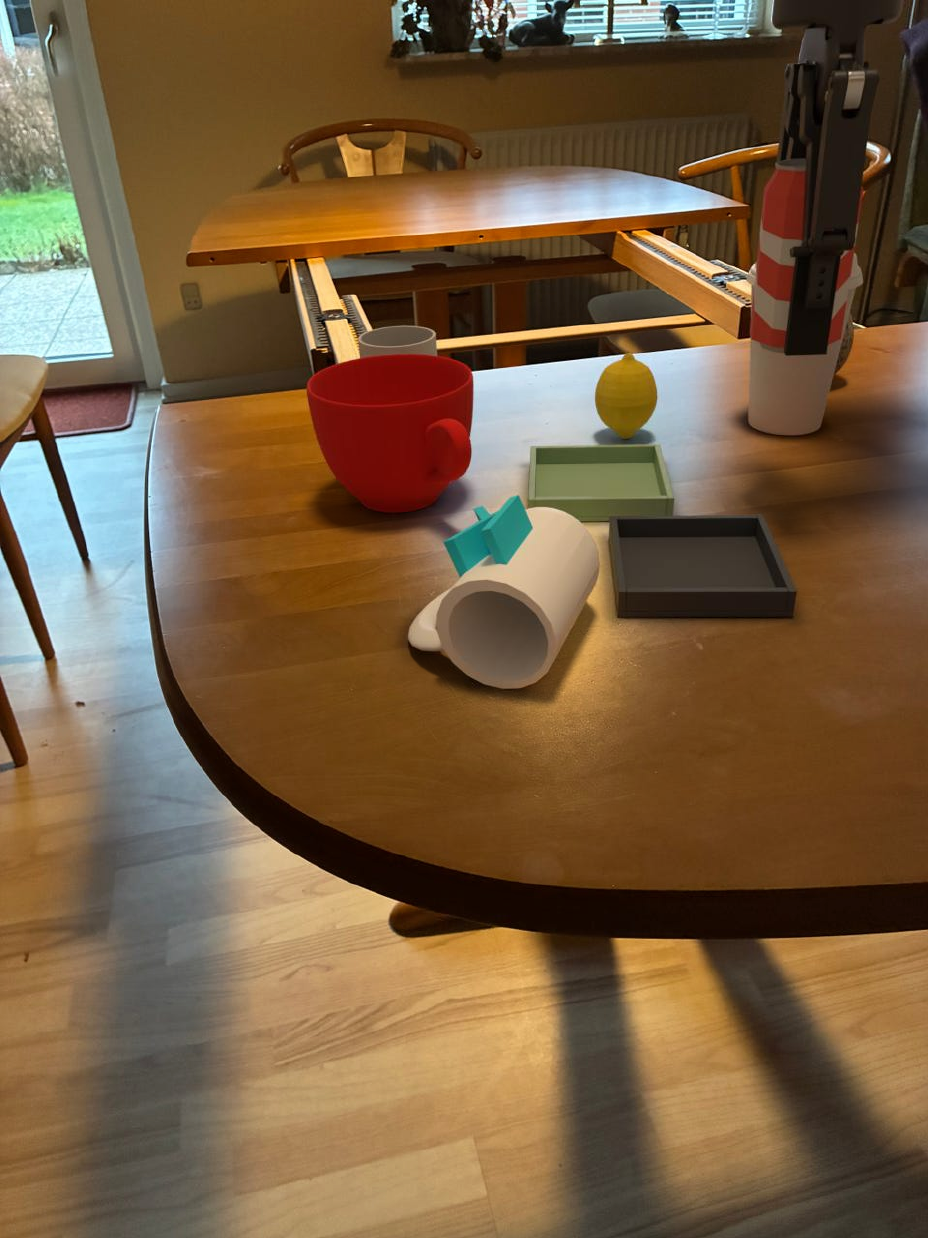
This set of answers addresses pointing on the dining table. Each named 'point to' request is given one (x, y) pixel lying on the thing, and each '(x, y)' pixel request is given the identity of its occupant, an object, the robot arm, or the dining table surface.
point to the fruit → (626, 396)
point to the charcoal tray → (698, 567)
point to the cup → (397, 341)
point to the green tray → (600, 481)
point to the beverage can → (787, 258)
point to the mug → (511, 594)
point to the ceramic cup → (394, 426)
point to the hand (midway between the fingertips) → (794, 338)
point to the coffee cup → (793, 379)
